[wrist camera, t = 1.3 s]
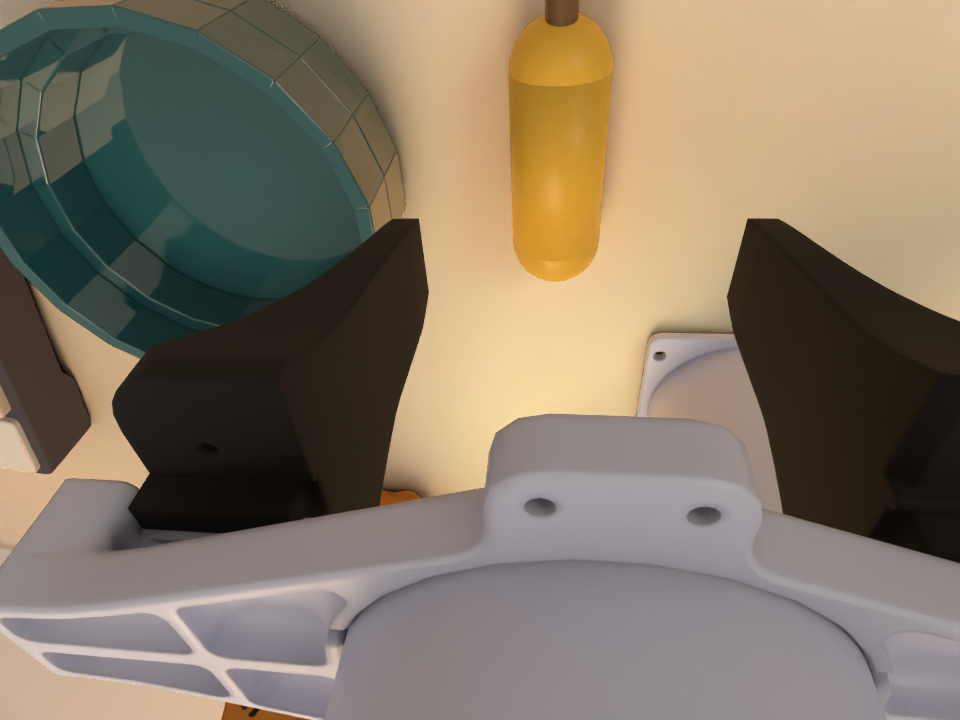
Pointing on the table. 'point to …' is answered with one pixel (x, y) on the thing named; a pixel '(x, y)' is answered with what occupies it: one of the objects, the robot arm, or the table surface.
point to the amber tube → (558, 139)
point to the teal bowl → (182, 162)
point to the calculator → (32, 385)
